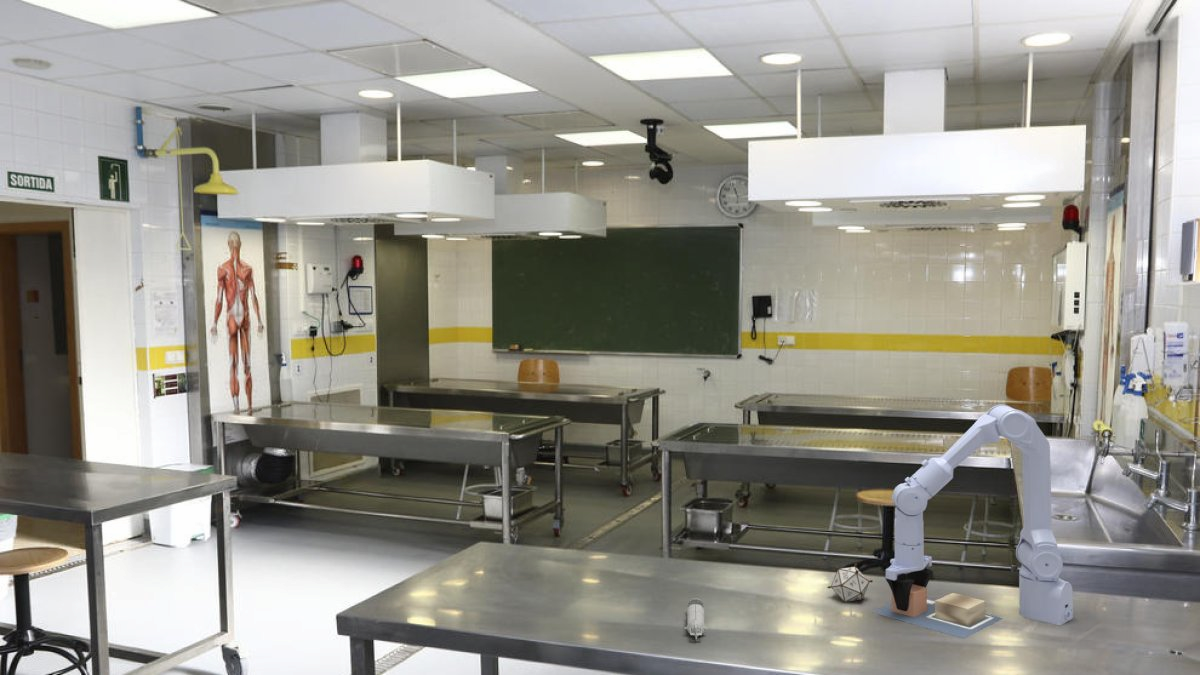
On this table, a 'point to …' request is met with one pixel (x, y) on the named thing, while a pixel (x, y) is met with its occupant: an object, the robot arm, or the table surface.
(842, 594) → the game die
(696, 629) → the torpedo
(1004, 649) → the table surface
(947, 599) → the beech block
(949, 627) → the board
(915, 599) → the terracotta cube
